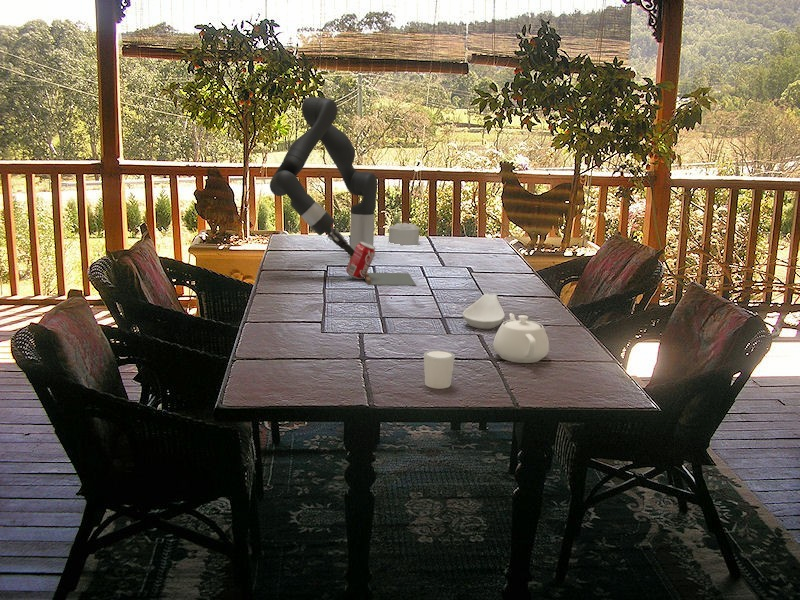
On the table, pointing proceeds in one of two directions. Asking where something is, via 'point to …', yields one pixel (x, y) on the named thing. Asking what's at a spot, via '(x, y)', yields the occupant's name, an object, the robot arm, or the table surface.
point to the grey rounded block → (404, 234)
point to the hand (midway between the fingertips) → (353, 254)
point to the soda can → (361, 260)
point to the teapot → (521, 340)
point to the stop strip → (367, 279)
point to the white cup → (438, 368)
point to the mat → (391, 279)
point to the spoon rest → (484, 312)
